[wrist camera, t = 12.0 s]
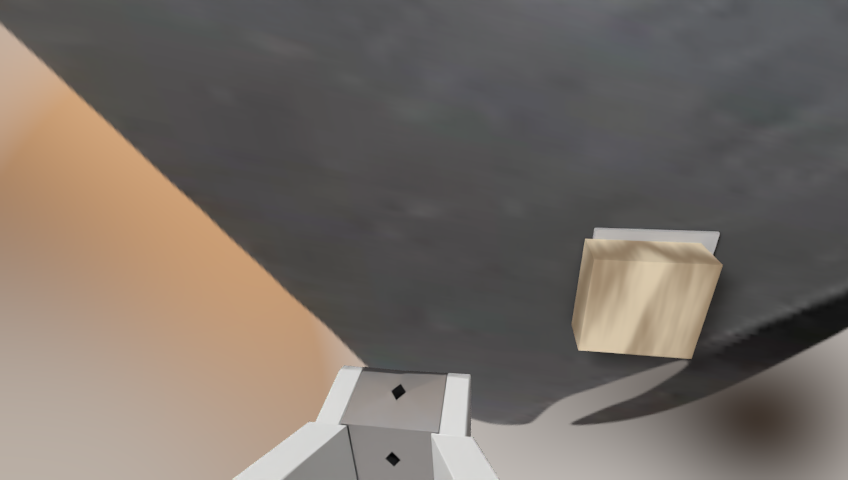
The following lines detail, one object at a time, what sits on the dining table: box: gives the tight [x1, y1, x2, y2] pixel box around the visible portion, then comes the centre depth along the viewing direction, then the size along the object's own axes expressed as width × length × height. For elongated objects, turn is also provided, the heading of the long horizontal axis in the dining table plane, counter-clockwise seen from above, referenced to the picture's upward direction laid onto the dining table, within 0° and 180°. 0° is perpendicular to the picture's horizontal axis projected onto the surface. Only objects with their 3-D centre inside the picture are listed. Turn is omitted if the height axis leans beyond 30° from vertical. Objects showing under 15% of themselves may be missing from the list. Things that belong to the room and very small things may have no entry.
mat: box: [593, 228, 720, 255], centre depth 40 cm, size 10×12×1 cm
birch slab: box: [572, 239, 723, 359], centre depth 38 cm, size 4×10×10 cm
